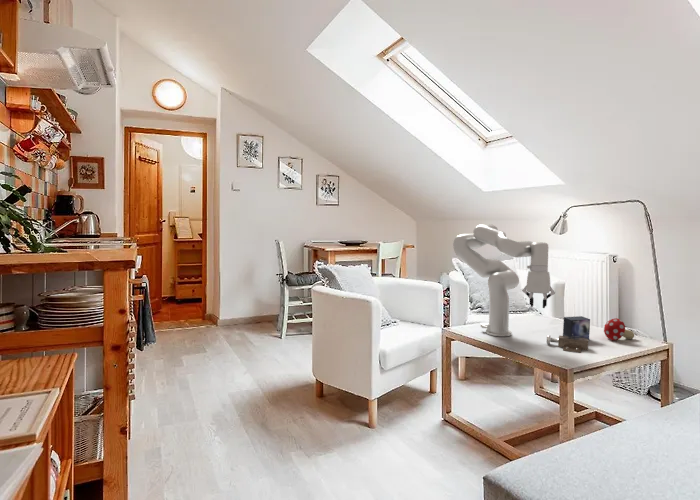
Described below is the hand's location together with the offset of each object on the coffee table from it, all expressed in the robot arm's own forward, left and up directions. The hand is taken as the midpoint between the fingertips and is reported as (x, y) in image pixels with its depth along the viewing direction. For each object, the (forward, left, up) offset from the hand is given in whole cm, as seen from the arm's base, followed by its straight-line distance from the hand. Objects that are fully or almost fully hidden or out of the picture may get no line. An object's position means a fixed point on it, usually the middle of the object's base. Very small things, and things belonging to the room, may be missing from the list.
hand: (537, 306), depth 214 cm
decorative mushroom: (+34, +26, -18) cm, 46 cm away
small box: (+16, +17, -18) cm, 29 cm away
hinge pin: (+12, 0, -17) cm, 21 cm away
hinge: (+16, 0, -17) cm, 23 cm away
